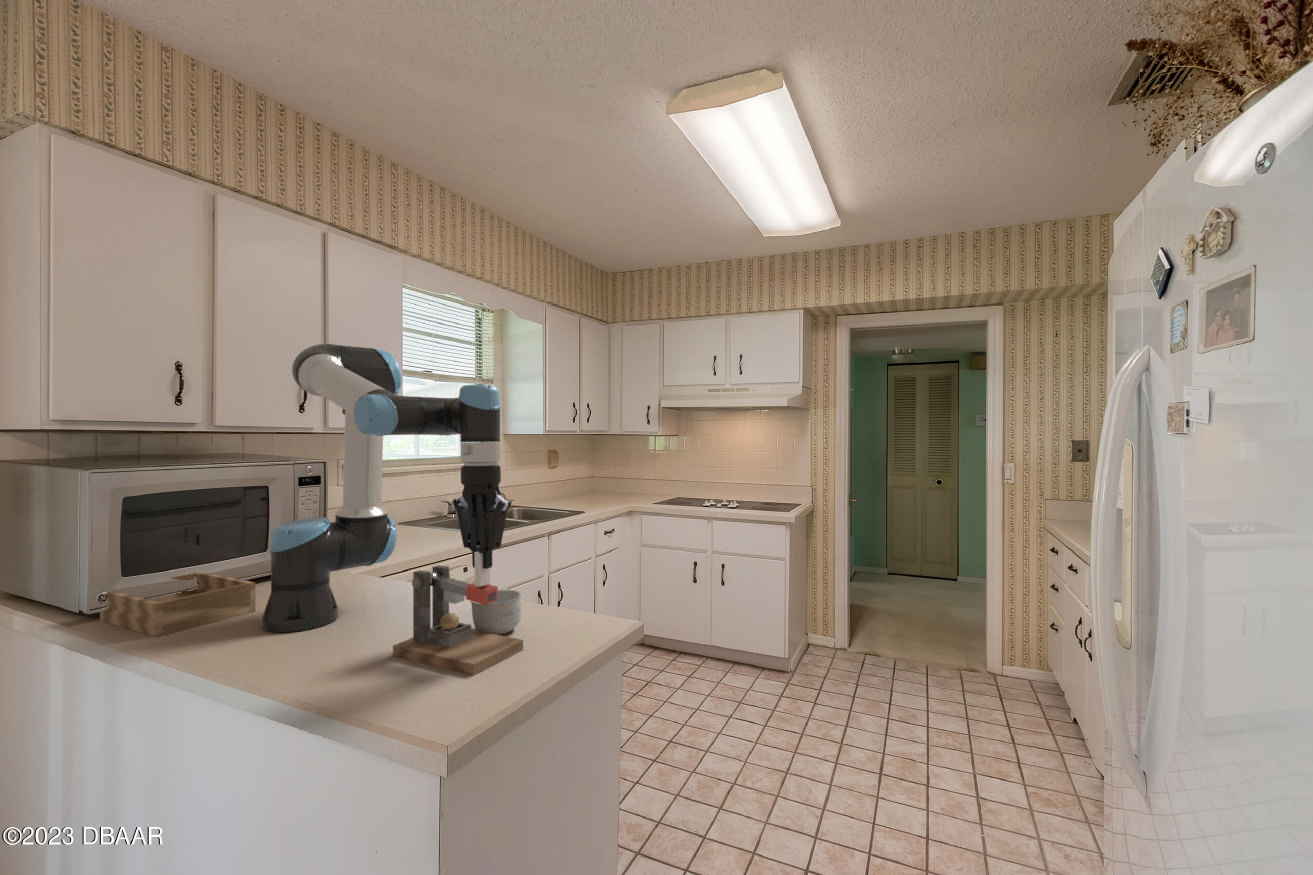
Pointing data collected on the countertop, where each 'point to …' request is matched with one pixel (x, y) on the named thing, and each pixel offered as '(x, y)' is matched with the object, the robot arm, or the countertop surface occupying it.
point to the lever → (463, 590)
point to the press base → (449, 634)
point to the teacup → (498, 613)
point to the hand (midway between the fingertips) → (482, 584)
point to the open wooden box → (182, 606)
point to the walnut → (449, 622)
